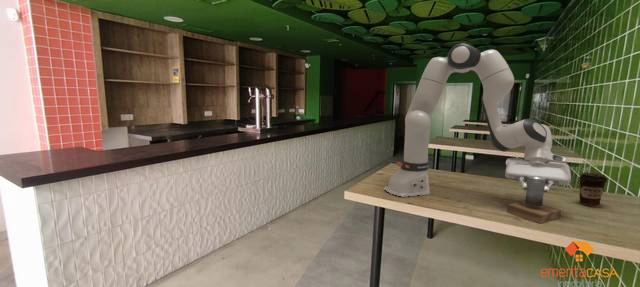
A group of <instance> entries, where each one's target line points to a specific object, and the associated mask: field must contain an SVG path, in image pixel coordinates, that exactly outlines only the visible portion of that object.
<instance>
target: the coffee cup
mask: <svg viewBox="0 0 640 287" xmlns="http://www.w3.org/2000/svg"><path fill="white" fill-rule="evenodd" d="M607 181H608V178H606V175H605V174H601V173H594V172H582V174H581V175H579V193H578V194H579V202H578V203H579V204H581V205H583V206H587V207H588V206H589V207H593V208H594V207H596V208H599V207H601V200H602V195H604V194H603V193H604V189H605V185H606V184H607Z"/></svg>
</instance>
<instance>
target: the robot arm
mask: <svg viewBox="0 0 640 287" xmlns="http://www.w3.org/2000/svg"><path fill="white" fill-rule="evenodd" d="M471 71H474V72H475V74H477V75H478V78H479V80H480V82H481V84H482V88H483V93H482V96H481V97H480V98H481V101H480V102H481V106H482V110H483V113H484V117H485V120H486V123H487V127H488V131H489V139H490V142H491V145H492V147H494V149H496V150H498V151H499V152H500V151H501V152H508V151H511V150H513V149H515V148H519V147H522V146H524V147H525V150H524V153H523V154H524V155H523V157H522V158H521V157H519V158H518V157H510V158H507V159H506V160H505V166H506V168H505V173H504V176H505V177H506V179H512V180H519V183H520V185H521V188H522V190H525V191H526V189H527V183H525V182H527V178H528V175H533V176H542V177H545V178H546V180H545V184H547V186H546V185H545V188H544V193H547V194H548V193H550V189H551V188H552V187H553V185H559V186H568V185H571V182H572V174H571V170H570V166H569V165H568V164H567V159H568V158H566V157H565V156H562V155H558V154H554V153H552V151H551V150H552V147H553V136H552V135H553V134H552V131H551V129H550V127H549V126H547V125H546V124H542V123H540V122H539V121H537V120H533V119H531V118H526V119H525V118H524V119H522V120H518V121H517V122H514V123H511V124H508V125H506V126H503V123H502V120H501V116H500V113H499V104H500V103H501V101H502V100H503V99H504V98H505V97H506V96H507V95H508V94H509V93H510V92H511V91H512V89H513V87H514V84H515V76H514V74H513V72H512V70H511V68H510V66H509V64H508V63H507V60H505V58H504V57H503V56H502V54H501V53H500V52H499V51H498V50H496V49H486V50H484V51H482V52H481V50H480V49H478V48H476V47H474V46H473V45H472V44H468V43H464V42H461V43H458V44H457V43H456V44H454V46H452V48H450V50H449V51H448V52H447V56H445V57H443V56H437V57H433V58H431V59H430V60H429V61H428V63H427V65H426V67H425V68H424V71H423V73H422V75H421V77H420V80H419V82H418V85H417V87H416V91H415V93H414V96H413V98H412V101H411V103H410V105H409V107H408V110H407V112H406V115H405V118H404V123H405V126H404V127H405V128H404V129H405V130H404V147H403V148H404V150H403V160H402V162H401V161H397V163H396V166H397V167H400V169H398V171H396V172H395V173H394V174H392V175H391V177H390V178H389V181H388V185H387V186H384V187H383V191H384V190H386V191H387V192H389V193H391V194H390V195H392V194H394V195H397V196H396V197H398V196H401V197H400V198H408V196H410V197H418V196H417V195H420V196H429V195H431V189H430V185H429V183H430V182H429V174H428V172H429V171H428V170H429V166H430V165H429V164H430V162H429V144H430V137H431V126H432V120H431V117H432V116H433V113H434V111H435V109H436V106H437V105H438V104H439V101H440V99H441V96H442V93H443V91H444V89H445V86H446V85H447V84H446V83H447V81H448V78H449V77H450V75H462V74H463V75H465V74H467V73H470V72H471ZM386 191H385V192H386ZM387 192H386V193H387ZM389 193H388V194H389ZM394 195H393V196H394Z"/></svg>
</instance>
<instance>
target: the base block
mask: <svg viewBox="0 0 640 287" xmlns="http://www.w3.org/2000/svg"><path fill="white" fill-rule="evenodd" d="M506 206H507V207H506V212H507V213H509V214H512V215H514V216H517V217H521V218H523V219H526V220H529V221H531V222H534V223H538V224H545V223H547V222H550V221H554V220H556V219H560V218H561V210H562V209H559V208H556V207H555V208H554V207H552V206H549V205H545V204H543V205H542V206H533V205H529V204H527V203H525V199H524V200H521V201H516V202H514V203H509V204H507V205H506Z"/></svg>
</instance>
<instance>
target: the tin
mask: <svg viewBox="0 0 640 287" xmlns="http://www.w3.org/2000/svg"><path fill="white" fill-rule="evenodd" d="M545 180H546V178H545V177H542V176H533V175H528V178H527V181H526V184H527V189H526V190H525V199H524V200H525V203H527V204H529V205H533V206H542V205H544V204H543V203H544V196H545V192H544V188H545V186H546V183H545Z"/></svg>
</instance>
